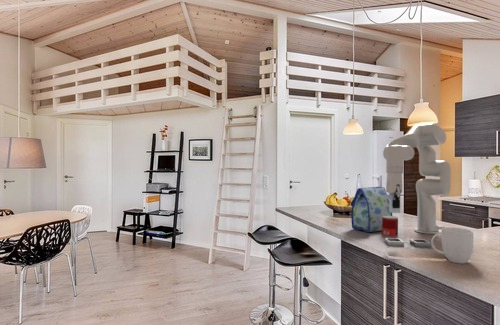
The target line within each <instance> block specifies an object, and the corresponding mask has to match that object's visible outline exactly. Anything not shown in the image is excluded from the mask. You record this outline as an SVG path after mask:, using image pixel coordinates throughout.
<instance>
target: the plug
mask: <svg viewBox="0 0 500 325" xmlns="http://www.w3.org/2000/svg"><path fill="white" fill-rule="evenodd" d="M387 199H389V212H391V213H392V214H401V207H400V208H393V207H392V205H393V194H390V193H388V194H387Z"/></svg>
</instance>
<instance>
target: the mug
mask: <svg viewBox="0 0 500 325" xmlns="http://www.w3.org/2000/svg"><path fill="white" fill-rule="evenodd" d="M436 237H441V247H442V250H440V249H438V248H437V246H435V242H434V241H435V239H436ZM430 240H431V241H430V243H431V246H432V247H433V249H434V251H435V252H437V253H439V254H442V255H443V256H445V257H446V259H447V260H448V261H449V262H451V263H455V264H466V263H467V262H469V261H470V259H471V257H472V254H473V252H474V251H473V250H474V231H473V230H470V229H467V228H463V227H462V228H461V227H455V226H454V227H452V226H445V227H444V228H442V230H441V233H440V232H439V233H438V234H433V236H432V238H431V239H430Z"/></svg>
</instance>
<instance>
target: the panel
mask: <svg viewBox="0 0 500 325" xmlns="http://www.w3.org/2000/svg"><path fill="white" fill-rule="evenodd" d="M379 241H380V242H381V243H382V244H383V245H384V246H385V247H386V248H388V249H390V248H393V249H413V250H432V251H433V250H434V249H433V247H432V244H431V241H428V240H427V239H422V238H421V239H420V238H419V239H418V238H409V240H403V239H401V238H397V237H395V238H393V237H384V239H379ZM434 251H435V250H434Z"/></svg>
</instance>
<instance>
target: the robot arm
mask: <svg viewBox="0 0 500 325" xmlns="http://www.w3.org/2000/svg"><path fill="white" fill-rule="evenodd" d="M446 140H447V134H446V131H445V130H444V129H443V128H442V127H441V126H439V125H438V124H437V123H435V122H434V123H419V124H414V125H413V126H411V127H410V128H409V130H407V132H405V134H404V135H402V136H400V137H397V138H395V139H393V140H391V141H389V142H388V143H387V144H386V145H385V147H384V149H383V151H382V152H383V153H382V156H383V158H384V159H385V160H386V162H385V163H386V170H385V171H386V183H385V184H386V185H385V191H386V193H387V194H393V205H392V207H393V208H400V209H401V195H402V194H403V174H404V161H410V160H413V158H414V157H415V149H414V148H416V149H417V150H418V172H419V175H420V176H423V177H428V178H420V179H418V180H417V181H416V182H415V191H416V198H417V200H416V201H417V204H416V205H417V213H416V214H417V227H415V228H414V232H416V233H420V234H426V235H435V234H438V233H440V231H439V230H441V231H442V228H444V227H446V226H443V225H438V224H437V202H436V200H435V198H433V196H435V197H436V196H440V197H447V196H449V195H450V193H451V185H452V184H451V183H452V182H451V180H452V179H451V178H452V177H451V175H452V169H451V165H450V162H448V161H447V160H437V158H436V156H437V152H436V150H435V149H434V148H433V147H432V146H441V145H443V144H445V143H446ZM429 177H430V178H429ZM431 177H435V178H431ZM437 178H440V179H437Z"/></svg>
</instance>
